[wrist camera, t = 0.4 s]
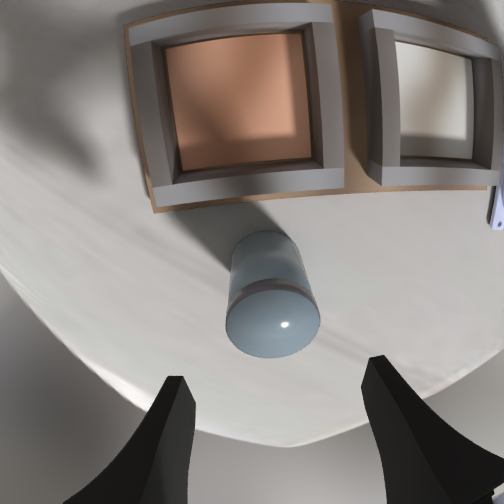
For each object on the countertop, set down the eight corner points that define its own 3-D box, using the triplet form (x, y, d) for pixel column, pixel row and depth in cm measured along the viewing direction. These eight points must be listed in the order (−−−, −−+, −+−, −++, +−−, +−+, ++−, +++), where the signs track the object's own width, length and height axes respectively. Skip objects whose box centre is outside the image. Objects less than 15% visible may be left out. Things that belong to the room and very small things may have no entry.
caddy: (478, 39, 11) (506, 37, 8) (478, 185, 16) (504, 200, 13) (130, 28, 11) (107, 17, 9) (158, 207, 17) (143, 228, 14)
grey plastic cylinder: (300, 226, 18) (322, 285, 12) (301, 287, 20) (318, 353, 15) (225, 233, 18) (217, 295, 13) (235, 293, 20) (233, 361, 15)
